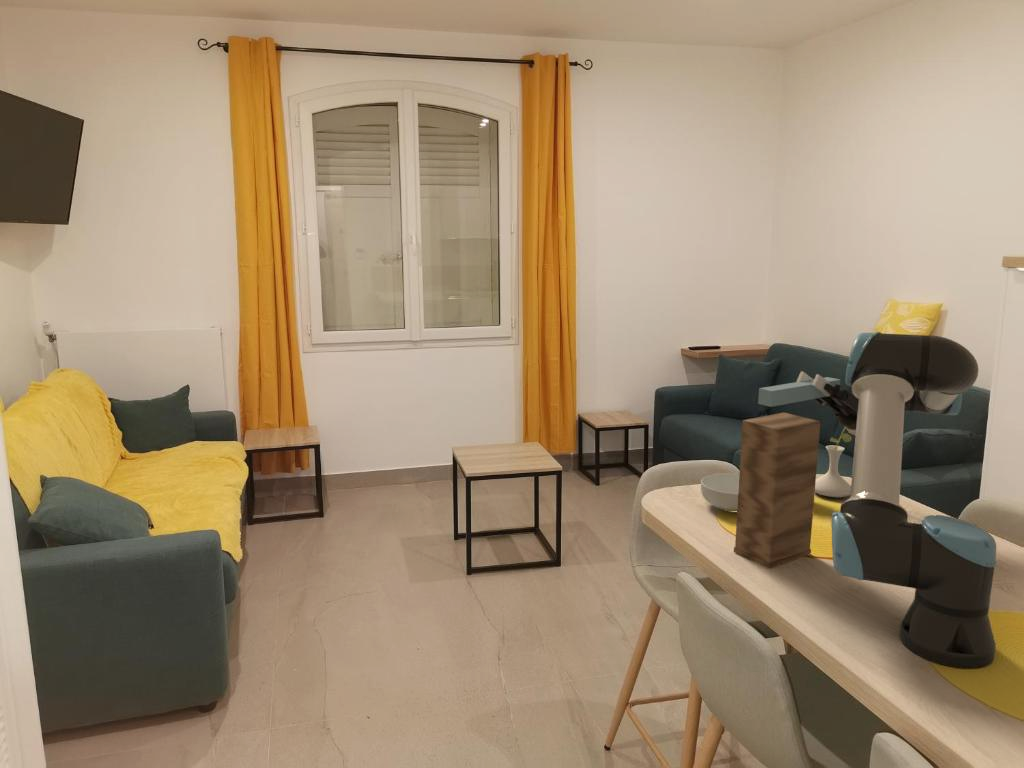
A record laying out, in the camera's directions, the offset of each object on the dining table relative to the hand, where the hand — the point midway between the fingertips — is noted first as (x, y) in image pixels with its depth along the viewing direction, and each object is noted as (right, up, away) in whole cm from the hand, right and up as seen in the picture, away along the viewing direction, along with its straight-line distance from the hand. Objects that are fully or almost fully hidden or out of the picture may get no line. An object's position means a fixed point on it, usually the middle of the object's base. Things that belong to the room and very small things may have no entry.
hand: (807, 378), depth 175 cm
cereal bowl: (-8, -35, +33) cm, 49 cm away
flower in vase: (+24, -33, +44) cm, 60 cm away
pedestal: (-7, -41, +4) cm, 42 cm away
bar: (-2, -5, 0) cm, 5 cm away
